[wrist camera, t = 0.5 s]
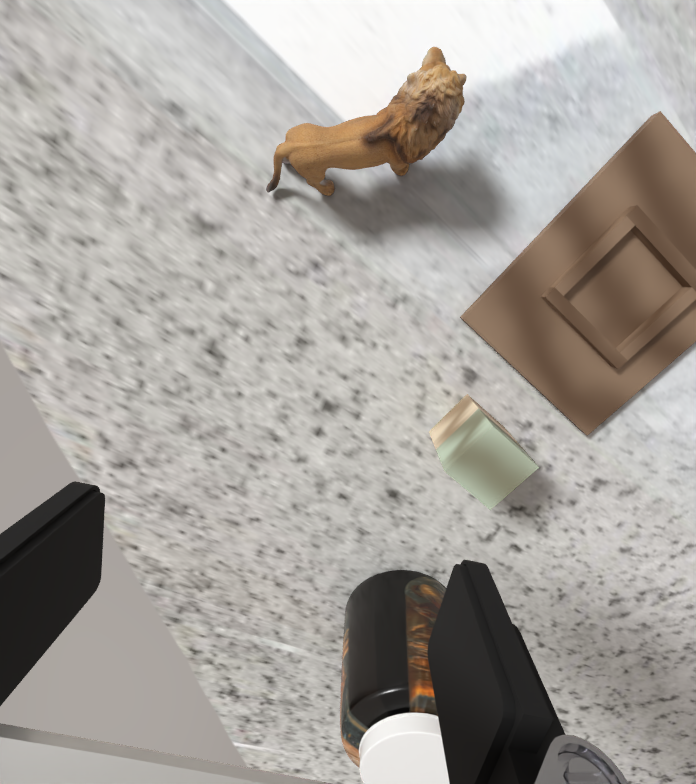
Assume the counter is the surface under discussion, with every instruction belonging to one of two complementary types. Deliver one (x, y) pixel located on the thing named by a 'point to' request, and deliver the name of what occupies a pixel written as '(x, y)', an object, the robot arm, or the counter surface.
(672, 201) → the walnut socket board
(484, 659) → the robot arm
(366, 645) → the jar
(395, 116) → the lion figurine
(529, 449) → the counter surface
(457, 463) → the two-tone block
